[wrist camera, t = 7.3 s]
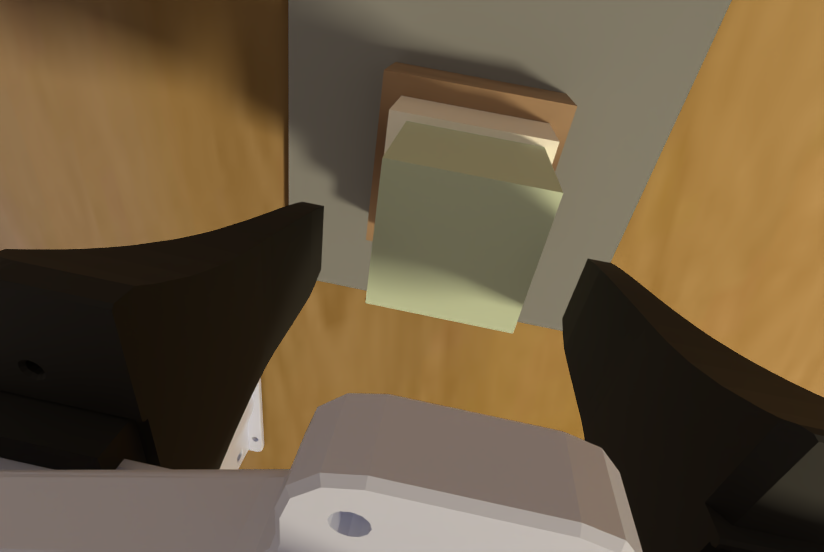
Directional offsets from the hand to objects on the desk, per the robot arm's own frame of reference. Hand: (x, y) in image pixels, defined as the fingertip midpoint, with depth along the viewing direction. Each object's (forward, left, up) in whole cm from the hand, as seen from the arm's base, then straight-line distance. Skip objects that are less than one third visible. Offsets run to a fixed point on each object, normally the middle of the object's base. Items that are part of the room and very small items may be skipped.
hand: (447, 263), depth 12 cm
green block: (0, 0, -4) cm, 4 cm away
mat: (0, 0, -10) cm, 10 cm away
